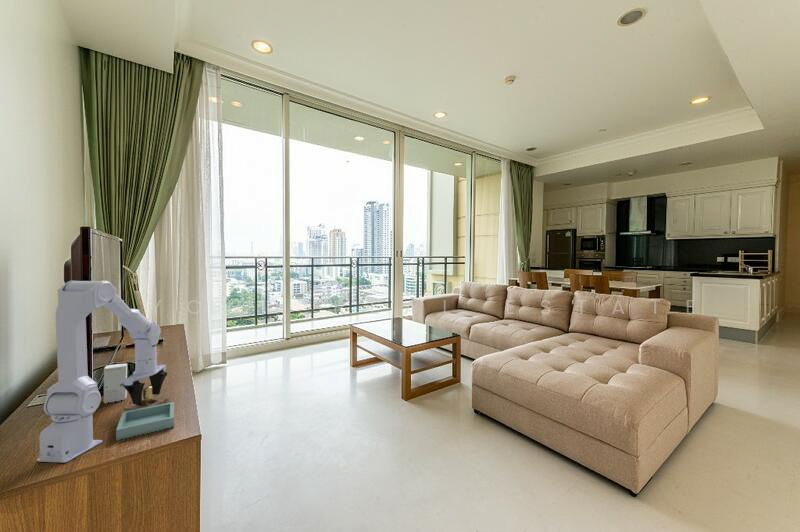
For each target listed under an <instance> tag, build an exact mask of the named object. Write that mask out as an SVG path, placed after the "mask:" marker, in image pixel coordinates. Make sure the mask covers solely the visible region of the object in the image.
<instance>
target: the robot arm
mask: <svg viewBox="0 0 800 532" xmlns="http://www.w3.org/2000/svg"><path fill="white" fill-rule="evenodd" d="M117 292H118V291H117V287H116V286H114V285H113V283H112V282H110V281H109V280H69V281H66V282H65V283H64V284H63V285H62V286H61V287H60V288H58V290H57V304H58V305H57V307H56V310H55V330H56V356H57V357H56V358H57V382H56V383H54V384H52V385H51V386H50V387H49V388H47V390H46V399H45V401H44V403H43V411H44V413H45V414H46V415H48V416H50V420H52V422H51V424H49V425H48V426H47V427H45V428H43V429H42V430H41V432H40V434H39V438H38V439H39V440H38V441H39V444H38V445H39V457H38V458H37V459H36V461H37V462H41V463H42V462H43V463H44V462H47V463H63V464H64V463H68V462H70V461H72V460H74V458H76V457H77V458H78V457H79V456H80V455H82V454H84V453H86V452H88V451H89V450H91V449H93V448H95V447H96V446H98V445H100V444H101V443H103V440H102V439H94V431H93V429H94V425H93V424H94V423H93V422H94V421H93V419H94V417H93V414H94V413H95V412H96V410H97V409H98V408H99V406H100V404H101V402H102V401H101V400H102V396H101V393H100V391H99V390H98V383H97V382H96V381H95V380H94V379H93V378H91V377H90V376H89V374H88V373H89V371H88V348H87V347H88V345H87V344H88V343H87V342H88V341H87V319H86V318H87V317H88V316H89V314H91V313H92V312H95V311H97V310H98V309H101V307H104V308H105V309H107V310H108V311H109V312H111V313H112V314H114V315H115V316H117V321H118V324H120V325H121V326H122V327H124V328H125V329H126V330H127V332H128V334H129V337H130V339H131V340H133V341H134V358H135V359H134V361H135V362H134V363H135V365H134V366H135V367H134V368H135V371H133V372H132V375H130V376H127V378H126V379H124V388H125V389H126V390H127V394H129V396H130V398H131V402H132V404H141V401H142V391H143V387H144V386H146V383H145V382H141V380H144V379H147V378H149V381H150V385H152V396H154V395H160V393H161V389H162V386H163V383H164V381H165V379H166V377H167V375H168V372H167V371H166V370H167V365H166V364H158V360H157V359H158V358H157V357H158V356H157V352H158V351H157V345H158V343H159V338H160V335H161V332H162V331H161V330H162V329H161V327H160V325H159V324H157V323H156V322H152V321H150V320H149V319H148V318H147V317H146V316H144V314H143V313H141V310H140V309H137V308H130V307H129V306H128V305H127V304H126V303H125V302H124V300H123V299H122V298H121V297H120V296H119V295H118V294H117Z"/></svg>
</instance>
